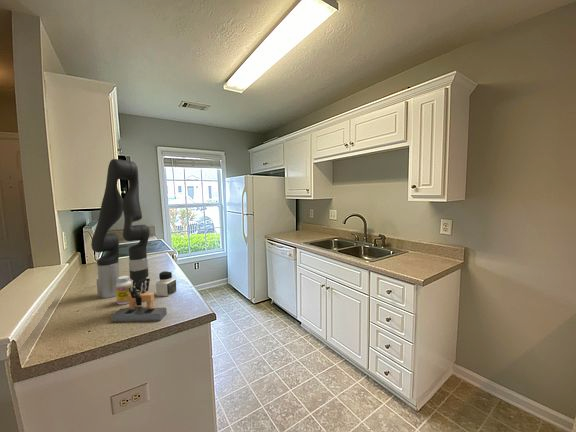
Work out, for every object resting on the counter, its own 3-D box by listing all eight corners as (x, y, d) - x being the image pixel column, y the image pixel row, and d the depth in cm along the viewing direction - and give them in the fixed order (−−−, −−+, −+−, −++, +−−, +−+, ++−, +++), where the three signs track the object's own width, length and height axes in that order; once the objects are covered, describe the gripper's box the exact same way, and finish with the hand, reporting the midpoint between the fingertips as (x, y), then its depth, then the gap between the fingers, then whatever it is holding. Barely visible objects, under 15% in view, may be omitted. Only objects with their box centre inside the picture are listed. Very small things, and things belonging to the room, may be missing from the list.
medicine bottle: (168, 296, 130) (166, 274, 129) (156, 295, 132) (154, 273, 131) (176, 291, 137) (175, 270, 136) (165, 290, 139) (164, 269, 138)
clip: (127, 309, 116) (126, 295, 115) (131, 306, 119) (130, 293, 118) (151, 308, 116) (150, 295, 115) (154, 305, 119) (154, 292, 118)
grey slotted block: (112, 322, 104) (111, 315, 104) (121, 315, 110) (120, 308, 110) (160, 320, 105) (159, 314, 104) (166, 314, 111) (166, 307, 110)
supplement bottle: (116, 306, 120) (114, 280, 118) (118, 301, 125) (116, 276, 124) (132, 303, 123) (130, 277, 122) (133, 298, 128) (131, 274, 127)
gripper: (139, 263, 123) (141, 297, 124) (120, 272, 109) (123, 310, 110) (154, 263, 123) (156, 297, 124) (138, 272, 109) (140, 310, 110)
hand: (141, 303), depth 117 cm, fingers closed on clip, 3 cm apart
